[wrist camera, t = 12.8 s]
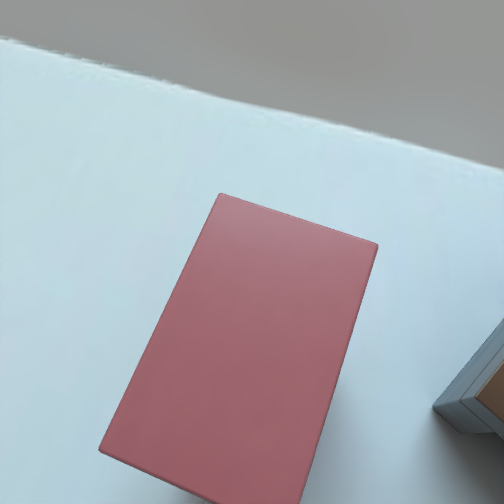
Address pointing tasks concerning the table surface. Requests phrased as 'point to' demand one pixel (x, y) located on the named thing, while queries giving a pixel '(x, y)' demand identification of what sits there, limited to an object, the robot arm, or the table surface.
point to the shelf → (478, 391)
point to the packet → (244, 357)
